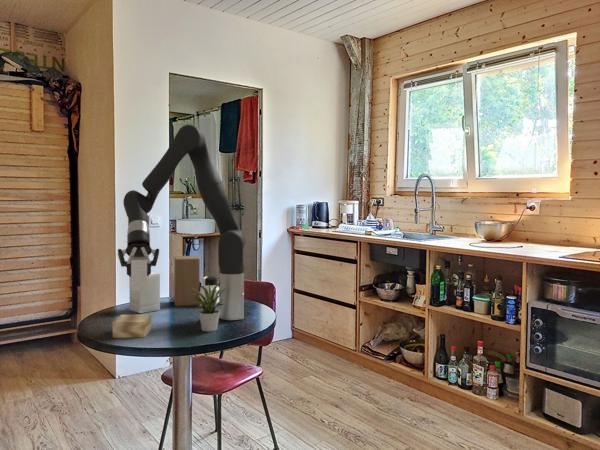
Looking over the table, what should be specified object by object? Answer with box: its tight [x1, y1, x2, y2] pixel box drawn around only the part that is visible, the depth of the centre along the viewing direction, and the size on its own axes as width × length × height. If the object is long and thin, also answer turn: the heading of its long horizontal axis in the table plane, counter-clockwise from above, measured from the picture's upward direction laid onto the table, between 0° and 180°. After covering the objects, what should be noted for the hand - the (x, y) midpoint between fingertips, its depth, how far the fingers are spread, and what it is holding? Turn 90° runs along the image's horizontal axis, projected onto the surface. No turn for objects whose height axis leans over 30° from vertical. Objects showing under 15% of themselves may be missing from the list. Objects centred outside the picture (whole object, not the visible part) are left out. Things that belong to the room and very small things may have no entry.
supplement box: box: [128, 271, 161, 314], centre depth 188 cm, size 9×9×15 cm
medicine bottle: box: [199, 275, 219, 307], centre depth 200 cm, size 7×7×12 cm
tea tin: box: [131, 256, 148, 291], centre depth 157 cm, size 5×5×11 cm
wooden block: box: [173, 255, 201, 307], centre depth 201 cm, size 10×10×20 cm
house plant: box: [192, 283, 229, 332], centre depth 162 cm, size 14×14×16 cm
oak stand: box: [112, 313, 152, 339], centre depth 156 cm, size 10×10×5 cm
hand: (139, 274), depth 156 cm, fingers closed on tea tin, 5 cm apart
